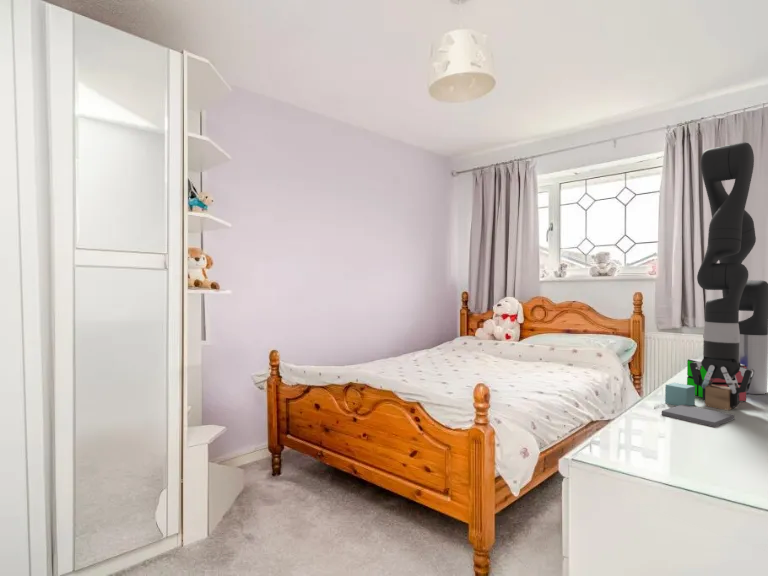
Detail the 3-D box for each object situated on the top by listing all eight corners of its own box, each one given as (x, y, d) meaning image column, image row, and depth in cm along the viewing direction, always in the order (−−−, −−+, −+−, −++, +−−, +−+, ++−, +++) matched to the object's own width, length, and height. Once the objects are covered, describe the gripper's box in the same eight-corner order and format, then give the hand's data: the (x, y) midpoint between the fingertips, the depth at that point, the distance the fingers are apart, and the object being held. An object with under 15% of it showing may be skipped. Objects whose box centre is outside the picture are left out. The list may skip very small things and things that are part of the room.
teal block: (674, 400, 124) (674, 382, 124) (694, 404, 120) (694, 386, 119) (665, 403, 121) (665, 384, 121) (686, 407, 117) (686, 388, 117)
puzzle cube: (747, 402, 123) (747, 365, 123) (709, 401, 123) (710, 365, 123) (720, 393, 133) (721, 359, 133) (686, 392, 133) (686, 359, 133)
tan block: (713, 403, 121) (713, 384, 121) (735, 407, 117) (735, 388, 117) (705, 405, 118) (705, 386, 118) (727, 410, 114) (728, 390, 114)
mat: (682, 408, 116) (682, 404, 116) (734, 419, 106) (734, 414, 106) (661, 414, 109) (661, 410, 109) (714, 426, 100) (714, 422, 100)
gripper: (760, 341, 114) (759, 409, 114) (696, 336, 126) (695, 397, 126) (749, 343, 110) (748, 413, 110) (684, 337, 121) (683, 400, 122)
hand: (720, 404), depth 118 cm, fingers closed on tan block, 5 cm apart
